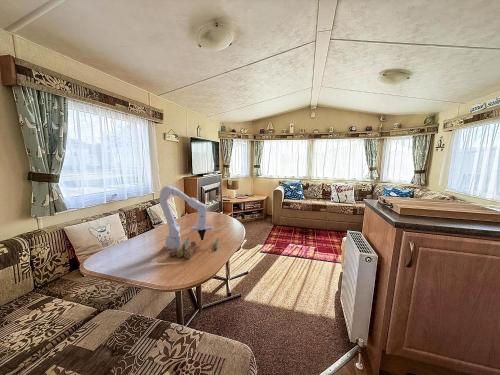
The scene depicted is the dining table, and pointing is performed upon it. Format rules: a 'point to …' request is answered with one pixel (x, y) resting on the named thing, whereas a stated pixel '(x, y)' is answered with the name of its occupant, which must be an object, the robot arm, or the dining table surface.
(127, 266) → the dining table surface
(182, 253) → the wooden block set
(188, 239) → the pair of rectangular slabs
